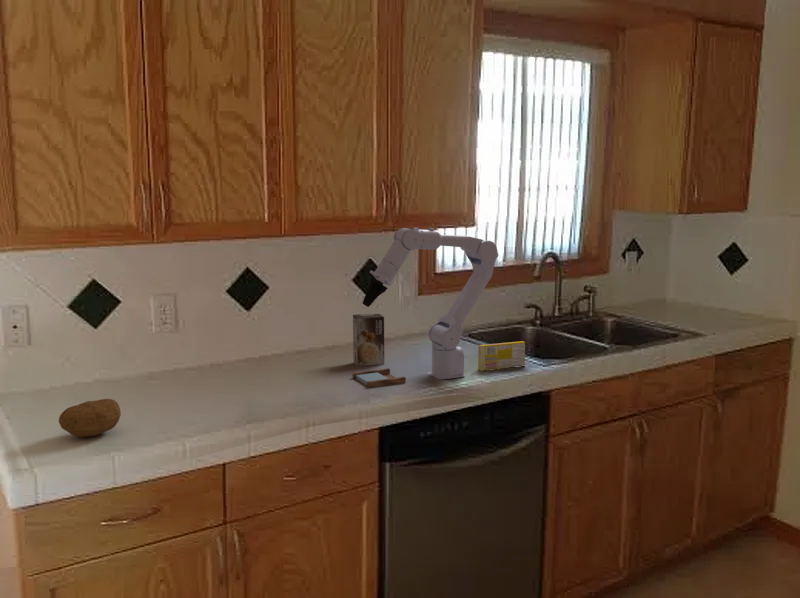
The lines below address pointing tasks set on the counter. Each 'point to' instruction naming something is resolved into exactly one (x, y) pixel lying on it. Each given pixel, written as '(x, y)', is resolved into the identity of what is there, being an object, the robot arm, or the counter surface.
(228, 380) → the counter surface
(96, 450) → the counter surface
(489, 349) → the candy box
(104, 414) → the potato
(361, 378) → the cover plate
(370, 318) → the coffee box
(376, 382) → the tray
